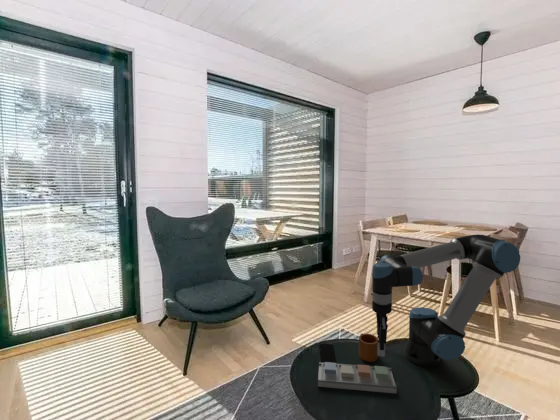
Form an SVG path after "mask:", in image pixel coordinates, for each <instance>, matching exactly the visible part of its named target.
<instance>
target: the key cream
mask: <svg viewBox="0 0 560 420" xmlns="http://www.w3.org/2000/svg"><path fill="white" fill-rule="evenodd" d="M341 377H348V378H353V368H352V366H344V365H341Z"/></svg>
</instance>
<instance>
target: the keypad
mask: <svg viewBox="0 0 560 420" xmlns="http://www.w3.org/2000/svg"><path fill="white" fill-rule="evenodd" d="M341 365H344V366H352V368H353V378H348V377H341ZM358 365H359V364H349V363H348V364H345V363H336V374H325V373H324V368H325V363H322V362H321V361H320V362H318V375H317V376H318V377H317V388H318V387H319V388H330V389H331V388H332V389H342V390H343V389H344V390H354V391H355V390H356V391H366V392H373V393H374V392H375V393H376V392H377V393H386V394H397V393H398V390H397V389H398V388H397V384H396V382H395V378H394V376H393V372H392V367H387V366H386V367H387V371H388V379H385V378H376V375H375V370H374V366H375V365H374V366H373V365H369V367H370V372H371V377H361V376H358Z"/></svg>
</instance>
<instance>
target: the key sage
mask: <svg viewBox="0 0 560 420" xmlns="http://www.w3.org/2000/svg"><path fill="white" fill-rule="evenodd" d="M374 370H375V375H376V378H385V379H388V371H387V366H381V365H374Z"/></svg>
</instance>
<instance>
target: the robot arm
mask: <svg viewBox="0 0 560 420" xmlns="http://www.w3.org/2000/svg"><path fill="white" fill-rule="evenodd" d="M455 259H457V260H458V261H461V260H462V261H463V260H466V259H467V260H468V259H469V260H471V265H472V268H471V270H470V272H469V273H468V275H467V276H466V278H465V279H464V281H463V283H462V284H461V285H460V288H459V289H458V290H457V293H456V294H455V296H454V298H453V299H452V300H451V302H450V304H449V305H448V306H447V308H446V310H445V312H444V313H443V314H442V315H438V312H437V311H436V310H435V309H432V308H428V307H414V308H412V309H410V311H409V316H408V318H409V319H408V321H409V322H408V323H409V325H408V329H409V330H408V340H407V342H406V344H405V346H404V352H403V353H404V356H405V358H406V359H407V360H409V361H410V362H412V363H413V364H416V365H419V366H423V367H435V366H437V365H438V364H440V361H441V359H442V360H445V361H451V360H456V359H458V358H459V357H460V356H462V355H463V354H464V352H465V349H466V346H465V345H466V342H465V341H464V338H465V336H466V331H465V328H466V326H467V325H468V324H469V321H470V320H471V318H472V316H473V315H474V314H475V312H476V310H477V308H478V307H479V305H480V304H481V303H482V301H483V299H484V297H486V294H487V293H488V291H490V288H491V286H492V285H493V283H494V282H495V280H496V279H500V278H501V279H502V278H503V276H504V275H505V273H506V274H507V273H512V272H514V271H515V270H516V269H518V267H519V265H520V263H521V262H520V261H521V254H520V251H519V248H518V247H517V245H515V244H514V243H511V242H508V241H506V240H505V239H499V238H497V237H496V238H495V237H491V236H489V235H485V234H469V235H465V236H460V237H456V238H452V239H451V240H450V241H449V242H446V243H442V244H438V245H434V246H429V247H427V248H423V249H418V250H415V251H410V252H407V253H404V254H403V253H402V254H400V255H396V256H395V255H394V256H392V255H389V254H386V255H383V256H382V257H381V258H380V259H379V262H375V263H374V264H373V265H372V271H371V273H372V274H371V276H372V277H371V278H372V282H371V283H372V289H371V290H372V292H371V293H370V296H371V297H372V301H371V308H372V311H373V312H374V313H376V314H375V317H376V336H377V338H378V340H377V342H378V357H386V344H387V340H388V339H387V338H388V334H387V333H388V327H389V326H388V319H389V318H388V315H389V314H391V313H392V311H393V309H392V307H393V303H392V302H393V288H398V287H414V286H420V285H421V284H422V283H423V279H424V278H423V277H424V275H423V272H422V268H424V267H428V266H432V265H436V264H441V263H444V262H449V261H452V260H455Z"/></svg>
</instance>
